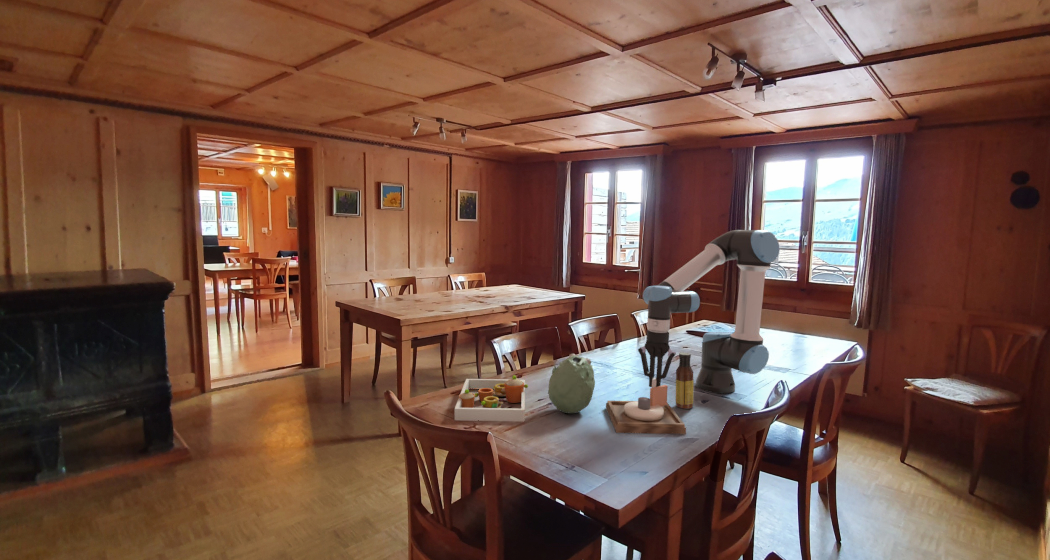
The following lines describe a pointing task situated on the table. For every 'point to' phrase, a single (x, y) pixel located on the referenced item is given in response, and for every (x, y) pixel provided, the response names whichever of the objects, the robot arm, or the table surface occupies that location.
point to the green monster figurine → (572, 384)
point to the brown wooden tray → (630, 425)
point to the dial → (648, 405)
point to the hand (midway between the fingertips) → (654, 396)
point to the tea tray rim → (488, 413)
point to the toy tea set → (508, 389)
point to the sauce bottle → (684, 382)
